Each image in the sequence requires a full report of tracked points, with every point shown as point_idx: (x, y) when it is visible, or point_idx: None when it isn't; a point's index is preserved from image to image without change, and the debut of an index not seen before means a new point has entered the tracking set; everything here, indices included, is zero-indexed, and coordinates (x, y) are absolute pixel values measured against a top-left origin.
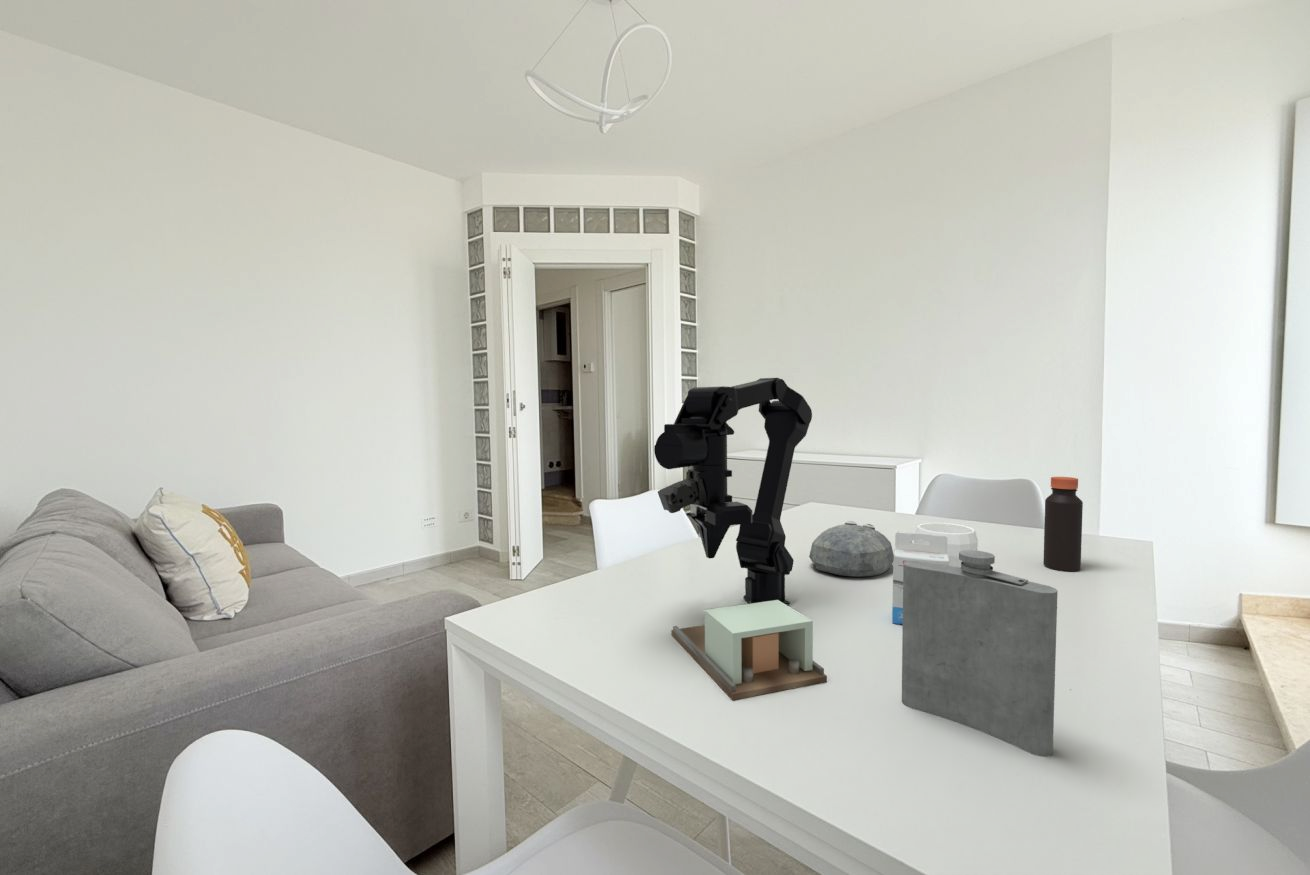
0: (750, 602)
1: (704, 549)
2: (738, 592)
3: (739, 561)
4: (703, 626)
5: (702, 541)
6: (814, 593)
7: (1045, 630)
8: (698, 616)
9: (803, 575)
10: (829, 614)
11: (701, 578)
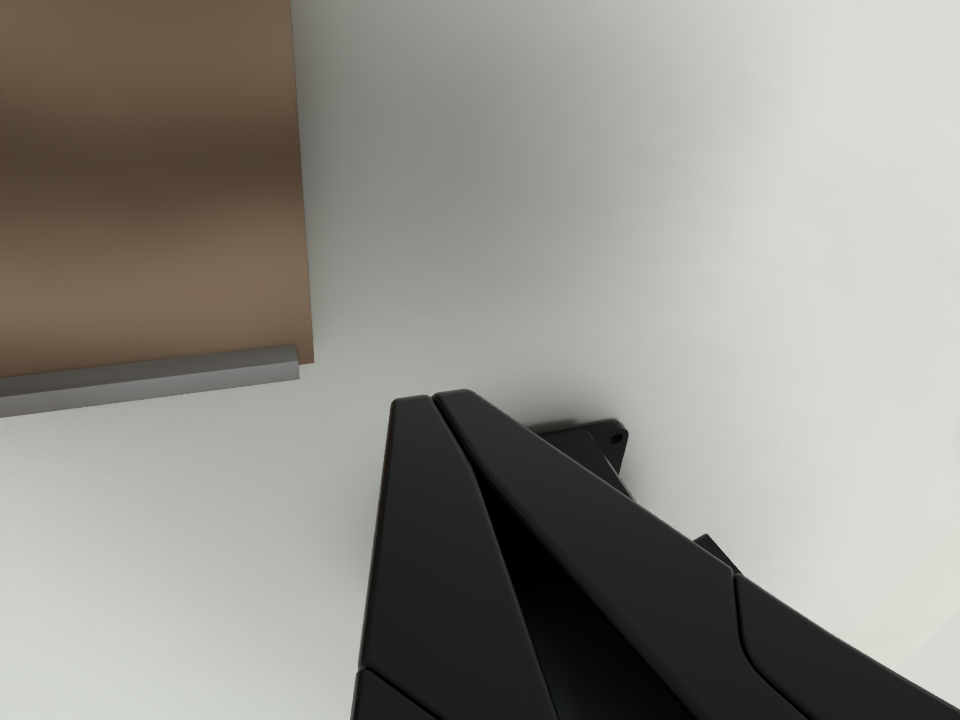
0: (548, 434)
1: (528, 442)
2: (698, 421)
3: (726, 559)
4: (267, 36)
5: (627, 526)
6: None
7: None
8: (524, 107)
9: None
10: (295, 661)
11: (942, 323)
